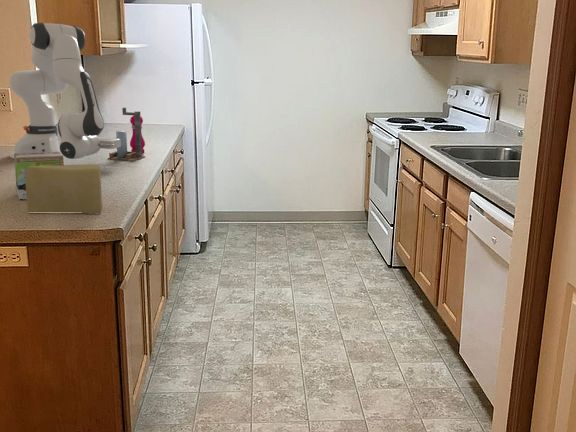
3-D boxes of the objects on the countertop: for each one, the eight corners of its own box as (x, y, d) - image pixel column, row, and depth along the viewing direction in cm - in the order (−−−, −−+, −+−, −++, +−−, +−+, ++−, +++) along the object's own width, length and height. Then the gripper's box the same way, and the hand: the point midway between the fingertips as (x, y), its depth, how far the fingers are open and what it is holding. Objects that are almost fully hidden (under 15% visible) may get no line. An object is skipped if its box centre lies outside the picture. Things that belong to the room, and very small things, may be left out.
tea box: (19, 201, 206) (15, 157, 202) (16, 194, 214) (12, 152, 210) (66, 197, 213) (63, 154, 209) (62, 190, 221) (59, 150, 217)
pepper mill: (141, 154, 296) (140, 113, 291) (127, 153, 297) (125, 112, 292) (147, 152, 303) (146, 111, 297) (134, 151, 304) (132, 110, 299)
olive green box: (25, 217, 187) (20, 169, 183) (30, 209, 196) (26, 163, 192) (100, 215, 192) (97, 168, 188) (102, 207, 201) (100, 162, 197)
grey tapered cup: (119, 158, 281) (118, 132, 278) (115, 157, 285) (114, 131, 282) (129, 157, 284) (127, 131, 281) (125, 156, 288) (124, 130, 284)
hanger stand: (133, 161, 279) (131, 110, 272) (107, 159, 282) (104, 109, 275) (145, 157, 289) (143, 108, 283) (120, 155, 292) (118, 106, 286)
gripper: (111, 138, 255) (127, 134, 268) (67, 134, 260) (86, 130, 272) (111, 153, 257) (128, 148, 269) (68, 149, 261) (86, 144, 274)
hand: (106, 139), depth 271 cm, fingers open, 8 cm apart
